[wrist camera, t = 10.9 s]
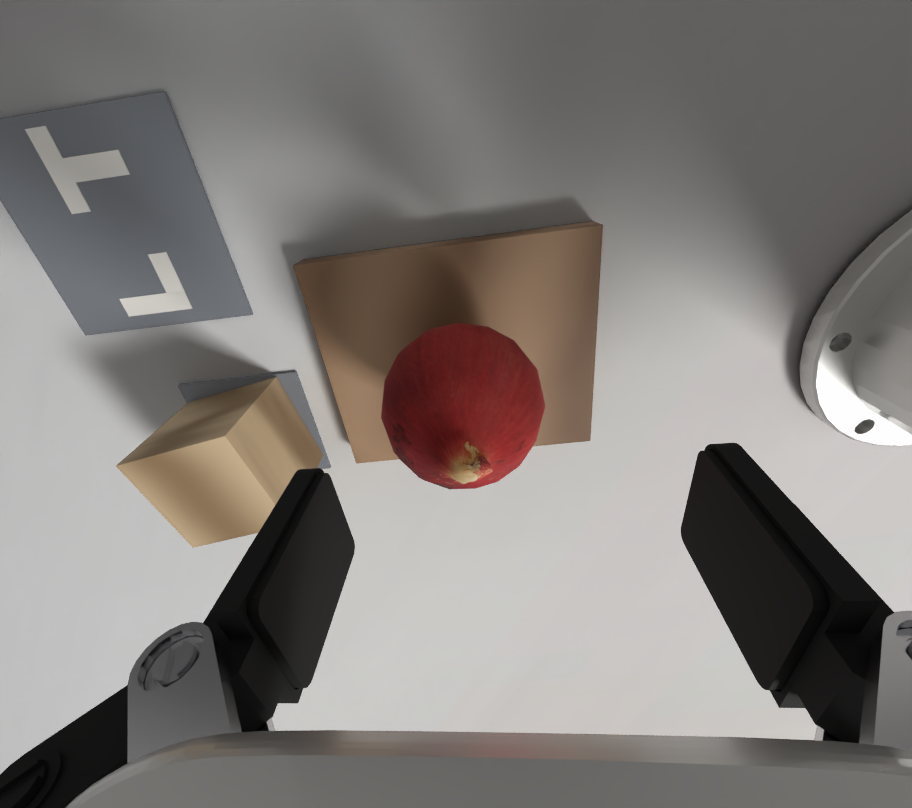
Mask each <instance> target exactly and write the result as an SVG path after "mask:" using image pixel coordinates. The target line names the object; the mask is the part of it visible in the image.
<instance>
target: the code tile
mask: <svg viewBox="0 0 912 808" xmlns="http://www.w3.org/2000/svg"><path fill="white" fill-rule="evenodd" d="M0 200H1V202H2V203H3V205H4V207H5V208H6V210H7V211H8V213H9V215H10V216H11V218H12V219H13V221H14V223H15V224H16V226H17V227H18V229H19V230H20V232H21V234H22V235H23V237H24V238H25V240H26V242H27V243H28V245H29V246H30V248H31V250H32V251H33V253H34V254H35V256H36V258H37V259H38V261H39V262H40V264H41V265H42V267H43V269H44V270H45V272H46V273H47V275H48V277H49V278H50V280H51V281H52V283H53V285H54V286H55V288H56V289H57V291H58V292H59V294H60V296H61V297H62V299H63V300H64V302H65V304H66V305H67V307H68V308H69V310H70V312H71V313H72V315H73V316H74V318H75V320H76V321H77V323H78V324H79V326H80V327H81V329H82V331H83V332H84V334H85V335H93V334H101V333H109V332H117V331H125V330H133V329H141V328H149V327H157V326H165V325H173V324H182V323H190V322H198V321H206V320H214V319H222V318H230V317H238V316H246V315H252V314H253V312H252V309H251V307H250V304H249V301H248V299H247V296H246V294H245V291H244V289H243V286H242V284H241V281H240V279H239V276H238V273H237V271H236V268H235V266H234V263H233V261H232V258H231V256H230V253H229V250H228V248H227V245H226V243H225V240H224V238H223V235H222V233H221V230H220V227H219V225H218V222H217V220H216V217H215V215H214V212H213V210H212V207H211V204H210V202H209V199H208V197H207V194H206V192H205V189H204V187H203V184H202V182H201V179H200V176H199V174H198V171H197V169H196V166H195V164H194V161H193V159H192V156H191V153H190V151H189V148H188V146H187V143H186V141H185V138H184V136H183V133H182V130H181V128H180V125H179V123H178V120H177V118H176V115H175V113H174V110H173V107H172V105H171V102H170V100H169V97H168V95H167V92H159V93H153V94H147V95H141V96H135V97H129V98H122V99H116V100H110V101H104V102H98V103H92V104H86V105H80V106H74V107H68V108H62V109H56V110H50V111H43V112H37V113H31V114H25V115H19V116H13V117H7V118H1V119H0Z"/></svg>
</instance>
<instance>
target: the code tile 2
mask: <svg viewBox="0 0 912 808" xmlns="http://www.w3.org/2000/svg"><path fill="white" fill-rule="evenodd" d="M273 377H277V378H278V380H279V382H280V383H281V385H282V387H283V388H284V390H285V392H286V393H287V395H288V397H289V399H290V400H291V402H292V404H293V405H294V407H295V409H296V410H297V412H298V414H299V415H300V417H301V419H302V420H303V422H304V424H305V425H306V427H307V429H308V430H309V432H310V434H311V435H312V437H313V439H314V440H315V442H316V444H317V445H318V447H319V449H320V450H321V452H322V454H323V456H322V458H321V461H320V463H319V465H318V467H317V468H321V469H326V468H330V467H331V465H330V462H329V460H328V457H327V454H326V451H325V449H324V446H323V443H322V440H321V438H320V435H319V432H318V429H317V427H316V424H315V421H314V418H313V416H312V413H311V410H310V407H309V405H308V402H307V399H306V396H305V393H304V391H303V388H302V385H301V382H300V380H299V377H298V374H297V371H291V372H282V373H273V374H265V375H256V376H247V377H238V378H229V379H220V380H212V381H203V382H194V383H185V384H179V385H178V387H179V388H180V390H181V392H182V394H183V396H184V398H185V399H186V401H187V403H189V402H192V401H195V400H199V399H202V398H205V397H209V396H212V395H216V394H219V393H222V392H226V391H229V390H233V389H236V388H239V387H243V386H246V385H250V384H253V383H256V382H260V381H263V380H267V379H270V378H273Z"/></svg>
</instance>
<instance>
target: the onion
mask: <svg viewBox="0 0 912 808" xmlns="http://www.w3.org/2000/svg"><path fill="white" fill-rule="evenodd" d="M544 410H545V402H544V397H543V392H542V388H541V383H540V379H539V374H538V370H537V368H536V367H535V366H534V364H533V363H532V362H531V361H530V359H529V358H528V357H527V356H526V354H525V353H524V352H523V351H522V349H521V348H520V347H519V346H518V345H517V343H516V342H515V341H514V340H512V339H511V338H509V337H507V336H505V335H503V334H501V333H499V332H497V331H496V330H494V329H492V328H490V327H487V326H480V325H473V324H466V323H453V324H449V325H445V326H441V327H437V328H432V329H428V330H427V331H425V332H424V333H423V334H421V335H420V336H419V337H418V338H416V339H415V340H414V341H412V342H411V343H410V344H409V345H407V346H406V347H405V348H404V349H403V350H402V351H401V352H400V353H399V354H398V355H397V357H396V359H395V361H394V363H393V365H392V367H391V369H390V371H389V373H388V375H387V377H386V379H385V382H384V391H383V401H382V413H381V419H382V422H383V425H384V427H385V430H386V433H387V435H388V438H389V441H390V443H391V446H392V449H393V452H394V453H395V454H396V455H397V457H398V458H399V459H400V460H401V461H402V462H403V463H404V464H405V465H407V466H408V467H409V468H410V469H411V470H412V471H413V472H414V473H415V474H416V475H417V476H418V477H419V478H421V479H423V480H425V481H428V482H431V483H434V484H437V485H439V486H442V487H445V488H448V489H468V488H478V487H481V486H485V485H488V484H491V483H494V482H497V481H499V480H500V479H502V478H503V477H505V476H506V475H507V474H509V473H510V472H512V471H513V470H514V469H516V468H517V467H518V466H520V464H521V463H522V461H523V460H524V458H525V457H526V456H527V454H528V453H529V451H530V450H531V448H532V447H533V445H534V443H535V442H536V440H537V436H538V432H539V428H540V425H541V421H542V417H543V413H544Z"/></svg>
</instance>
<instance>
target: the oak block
mask: <svg viewBox="0 0 912 808" xmlns="http://www.w3.org/2000/svg"><path fill="white" fill-rule="evenodd" d="M322 456H323V454H322V452H321V450H320V449H319V447H318V445H317V444H316V442H315V440H314V439H313V437H312V435H311V434H310V432H309V430H308V429H307V427H306V425H305V424H304V422H303V420H302V419H301V417H300V415H299V414H298V412H297V410H296V409H295V407H294V405H293V404H292V402H291V400H290V399H289V397H288V395H287V393H286V392H285V390H284V388H283V387H282V385H281V383H280V382H279V380H278V378H277V377H273V378H270V379H267V380H263V381H260V382H256V383H253V384H250V385H246V386H243V387H239V388H236V389H233V390H229V391H226V392H222V393H219V394H216V395H212V396H209V397H205V398H202V399H199V400H195V401H192V402H189V403H187V404H186V405H185V406H184V407H183V408H182V409H181V410H179V411H178V412H177V413H176V414H175V415H174V416H173V417H171V418H170V419H169V420H168V421H167V422H166V423H165V424H163V425H162V426H161V427H160V428H159V429H158V430H157V431H155V432H154V433H153V434H152V435H151V436H150V437H149V438H147V439H146V440H145V441H144V442H143V443H142V444H141V445H139V446H138V447H137V448H136V449H135V450H134V451H133V452H131V453H130V454H129V455H128V456H127V457H126V458H124V459H123V460H122V461H121V462H120V463H119V464H118V465H116V467H117V468H118V469H119V470H120V471H121V472H122V473H123V474H124V475H125V476H126V477H127V478H128V479H129V481H130V482H131V483H132V484H133V485H134V486H135V487H136V488H137V489H138V490H139V491H140V492H141V493H142V494H143V495H144V496H145V497H146V498H147V500H148V501H149V502H150V503H151V504H152V505H153V506H154V507H155V508H156V509H157V510H158V511H159V512H160V513H161V514H162V515H163V516H164V518H165V519H166V520H167V521H168V522H169V523H170V524H171V525H172V526H173V527H174V528H175V529H176V530H177V531H178V532H179V533H180V534H181V535H182V537H183V538H184V539H185V540H186V541H187V542H188V543H189V544H190V545H191V546H192V547H198V546H202V545H206V544H211V543H215V542H219V541H224V540H228V539H232V538H237V537H241V536H246V535H250V534H254V533H259V531H260V529H261V528H262V526H263V525H264V523H265V521H266V520H267V518H268V516H269V515H270V513H271V512H272V510H273V508H274V507H275V505H276V503H277V502H278V500H279V498H280V497H281V495H282V494H283V492H284V490H285V489H286V487H287V485H288V484H289V482H290V480H291V479H292V477H293V476H294V474H295V472H296V471H297V470H299V469H312V468H317V467H318V465H319V463H320V461H321V458H322Z"/></svg>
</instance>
